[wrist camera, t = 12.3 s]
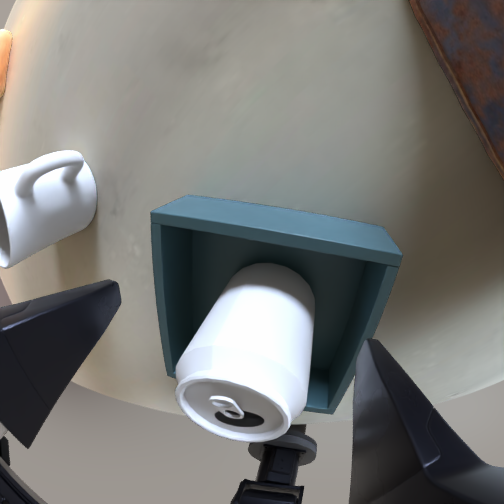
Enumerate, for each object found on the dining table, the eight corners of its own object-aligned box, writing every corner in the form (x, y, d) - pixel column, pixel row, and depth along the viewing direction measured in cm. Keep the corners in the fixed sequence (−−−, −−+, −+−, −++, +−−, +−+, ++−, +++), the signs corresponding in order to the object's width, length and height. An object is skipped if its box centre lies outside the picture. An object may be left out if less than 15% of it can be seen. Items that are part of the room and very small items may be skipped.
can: (243, 337, 25) (197, 443, 14) (216, 267, 23) (137, 366, 12) (322, 327, 23) (312, 450, 12) (304, 249, 20) (284, 367, 10)
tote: (334, 372, 25) (332, 414, 20) (189, 341, 28) (166, 375, 23) (383, 226, 19) (403, 254, 14) (187, 194, 21) (150, 211, 16)
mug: (74, 242, 27) (3, 283, 17) (45, 184, 25) (-27, 210, 15) (130, 184, 22) (33, 219, 12) (94, 115, 20) (-1, 122, 11)
